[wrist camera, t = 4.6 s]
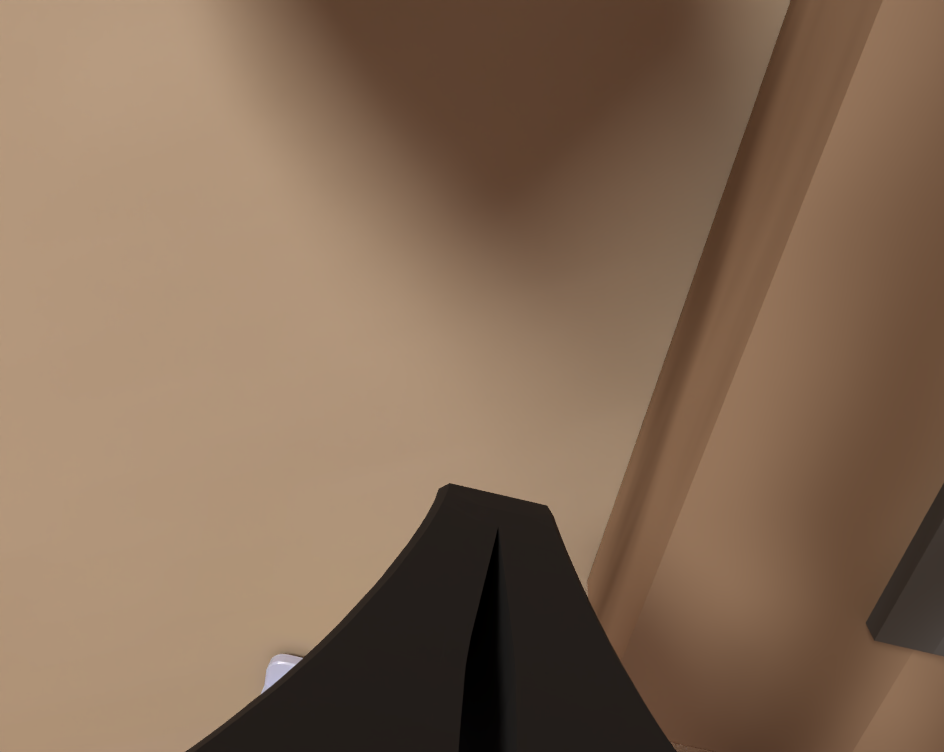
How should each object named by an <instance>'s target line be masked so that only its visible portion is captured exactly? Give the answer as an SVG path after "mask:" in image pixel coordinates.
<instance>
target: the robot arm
mask: <svg viewBox="0 0 944 752" xmlns="http://www.w3.org/2000/svg"><path fill="white" fill-rule="evenodd" d="M186 752H676V750H675V749H674V747H673V746H672V744H671V743H670V742H669V740H668V739H667V737H666V736H665V734H664V732H663V731H662V729H661V728H660V726H659V725H658V723H657V722H656V720H655V718H654V717H653V715H652V714H651V712H650V710H649V709H648V707H647V706H646V704H645V702H644V701H643V699H642V697H641V696H640V694H639V692H638V691H637V689H636V687H635V685H634V684H633V682H632V680H631V679H630V677H629V675H628V673H627V672H626V670H625V668H624V667H623V665H622V663H621V661H620V659H619V658H618V656H617V654H616V652H615V650H614V648H613V646H612V645H611V643H610V641H609V639H608V637H607V635H606V633H605V631H604V629H603V627H602V625H601V623H600V621H599V619H598V617H597V615H596V613H595V611H594V609H593V607H592V605H591V603H590V601H589V599H588V597H587V595H586V593H585V591H584V589H583V587H582V584H581V582H580V580H579V578H578V575H577V573H576V571H575V569H574V566H573V564H572V562H571V560H570V557H569V555H568V552H567V550H566V548H565V545H564V543H563V540H562V538H561V535H560V533H559V530H558V527H557V525H556V522H555V519H554V516H553V515H552V513H551V511H550V510H549V508H548V506H546V505H542V504H538V503H533V502H529V501H525V500H520V499H516V498H512V497H507V496H503V495H499V494H494V493H490V492H486V491H481V490H477V489H472V488H468V487H464V486H459V485H455V484H451V483H449V484H447V485H445V486H443V487H442V488H440V489H439V490H438V493H437V496H436V498H435V501H434V503H433V505H432V507H431V508H430V510H429V512H428V514H427V516H426V517H425V519H424V520H423V522H422V524H421V525H420V527H419V528H418V530H417V531H416V533H415V534H414V535H413V537H412V538H411V540H410V541H409V543H408V544H407V545H406V547H405V548H404V549H403V550H402V552H401V553H400V554H399V556H398V557H397V558H396V559H395V561H394V562H393V563H392V564H391V566H390V567H389V568H388V570H387V571H386V572H385V573H384V575H383V576H382V577H381V578H380V579H379V581H378V582H377V583H376V584H375V585H374V586H373V588H372V589H371V590H370V591H369V592H368V593H367V594H366V595H365V596H364V597H363V598H362V599H361V600H360V602H359V603H358V604H357V605H356V606H355V607H354V608H353V609H352V610H351V611H350V612H349V613H348V615H347V616H346V617H345V618H344V619H343V620H342V621H341V622H340V623H339V624H338V625H337V626H336V627H335V628H334V629H333V630H332V631H331V632H330V633H329V634H328V635H327V636H326V637H325V638H324V639H323V640H322V641H321V642H320V643H319V644H318V645H317V646H316V647H315V648H314V649H313V650H311V651H310V652H309V653H308V654H307V655H306V656H305V657H304V658H301V657H297V656H293V655H288V654H279V655H275V656H274V657H273V658H271V661H270V663H269V665H268V668H267V671H266V678H265V685H264V687H263V690H262V692H261V695H259V696H258V697H257V698H256V699H254V700H253V701H252V702H251V703H249V704H248V705H247V706H246V707H244V708H243V709H242V710H241V711H239V712H238V713H237V714H236V715H234V716H233V717H232V718H231V719H229V720H228V721H227V722H226V723H224V724H223V725H222V726H220V727H219V728H218V729H216V730H215V731H214V732H212V733H211V734H210V735H208V736H207V737H205V738H204V739H203V740H201V741H200V742H199V743H197V744H196V745H194V746H193V747H192V748H190V749H189V750H187V751H186Z"/></svg>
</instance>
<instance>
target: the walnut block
mask: <svg viewBox="0 0 944 752" xmlns="http://www.w3.org/2000/svg"><path fill="white" fill-rule="evenodd" d="M587 583H588V599H589V601H590V603H591V605H592V607H593V609H594V611H595V613H596V615H597V617H598V619H599V621H600V623H601V625H602V627H603V629H604V631H605V633H606V635H607V637H608V639H609V641H610V643H611V645H612V646H613V648H614V650H615V652H616V654H617V656H618V658H619V659H620V661H621V663H622V665H623V667H624V668H625V670H626V672H627V673H628V675H629V677H630V679H631V680H632V682H633V684H634V685H635V687H636V689H637V691H638V692H639V694H640V696H641V697H642V699H643V701H644V702H645V704H646V706H647V707H648V709H649V710H650V712H651V714H652V715H653V717H654V718H655V720H656V722H657V723H658V725H659V726H660V728H661V729H662V731H663V732H664V734H665V736H666V737H667V739H668V740H669V742H673V743H678V744H682V745H687V746H691V747H695V748H700V749H704V750H709V751H713V752H944V0H791V1H790V4H789V7H788V10H787V13H786V16H785V19H784V21H783V24H782V27H781V30H780V33H779V36H778V39H777V41H776V44H775V47H774V50H773V53H772V56H771V59H770V61H769V64H768V67H767V70H766V73H765V76H764V79H763V81H762V84H761V87H760V90H759V93H758V96H757V99H756V101H755V104H754V107H753V110H752V113H751V116H750V119H749V121H748V124H747V127H746V130H745V133H744V136H743V138H742V141H741V144H740V147H739V150H738V153H737V156H736V158H735V161H734V164H733V167H732V170H731V173H730V176H729V178H728V181H727V184H726V187H725V190H724V193H723V196H722V198H721V201H720V204H719V207H718V210H717V213H716V216H715V218H714V221H713V224H712V227H711V230H710V233H709V236H708V238H707V241H706V244H705V247H704V250H703V253H702V256H701V258H700V261H699V264H698V267H697V270H696V273H695V275H694V278H693V281H692V284H691V287H690V290H689V293H688V295H687V298H686V301H685V304H684V307H683V310H682V313H681V315H680V318H679V321H678V324H677V327H676V330H675V333H674V335H673V338H672V341H671V344H670V347H669V350H668V353H667V355H666V358H665V361H664V364H663V367H662V370H661V373H660V375H659V378H658V381H657V384H656V387H655V390H654V393H653V395H652V398H651V401H650V404H649V407H648V410H647V412H646V415H645V418H644V421H643V424H642V427H641V430H640V432H639V435H638V438H637V441H636V444H635V447H634V450H633V452H632V455H631V458H630V461H629V464H628V467H627V470H626V472H625V475H624V478H623V481H622V484H621V487H620V490H619V492H618V495H617V498H616V501H615V504H614V507H613V510H612V512H611V515H610V518H609V521H608V524H607V527H606V529H605V532H604V535H603V538H602V541H601V544H600V547H599V549H598V552H597V555H596V558H595V561H594V564H593V567H592V569H591V572H590V575H589V578H588V581H587Z"/></svg>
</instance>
